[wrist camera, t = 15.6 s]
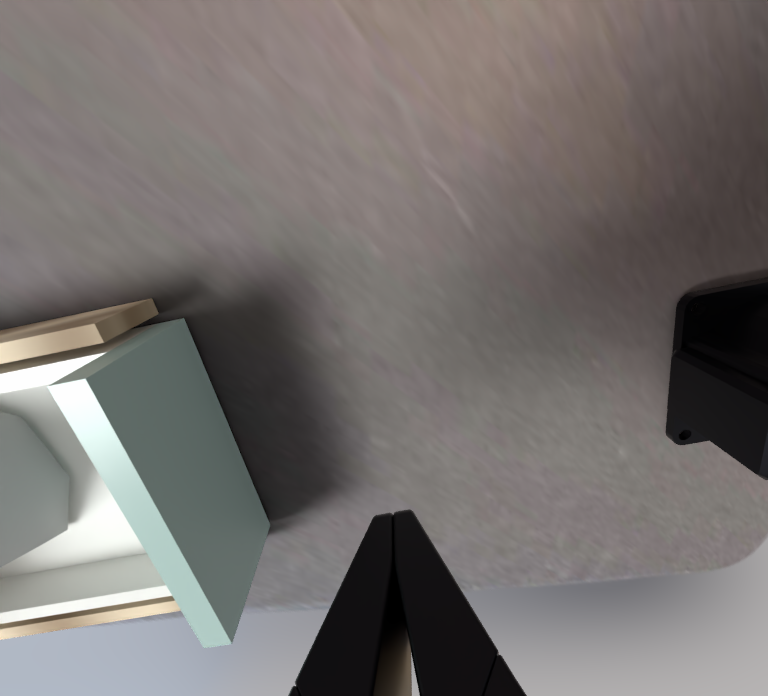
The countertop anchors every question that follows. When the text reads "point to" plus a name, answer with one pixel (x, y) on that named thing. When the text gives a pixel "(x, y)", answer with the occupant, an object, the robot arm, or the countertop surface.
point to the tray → (137, 484)
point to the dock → (52, 340)
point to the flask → (28, 490)
